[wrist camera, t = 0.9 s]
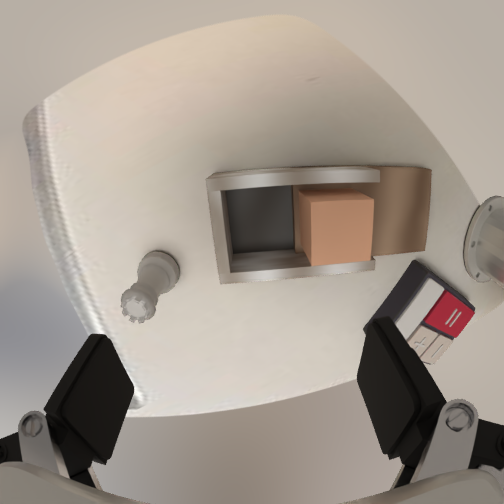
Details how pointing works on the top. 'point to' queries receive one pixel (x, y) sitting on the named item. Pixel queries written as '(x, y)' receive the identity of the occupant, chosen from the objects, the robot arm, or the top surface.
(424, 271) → the calculator
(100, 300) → the top surface
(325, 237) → the block
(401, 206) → the metal sorting tray
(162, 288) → the rook chess piece
